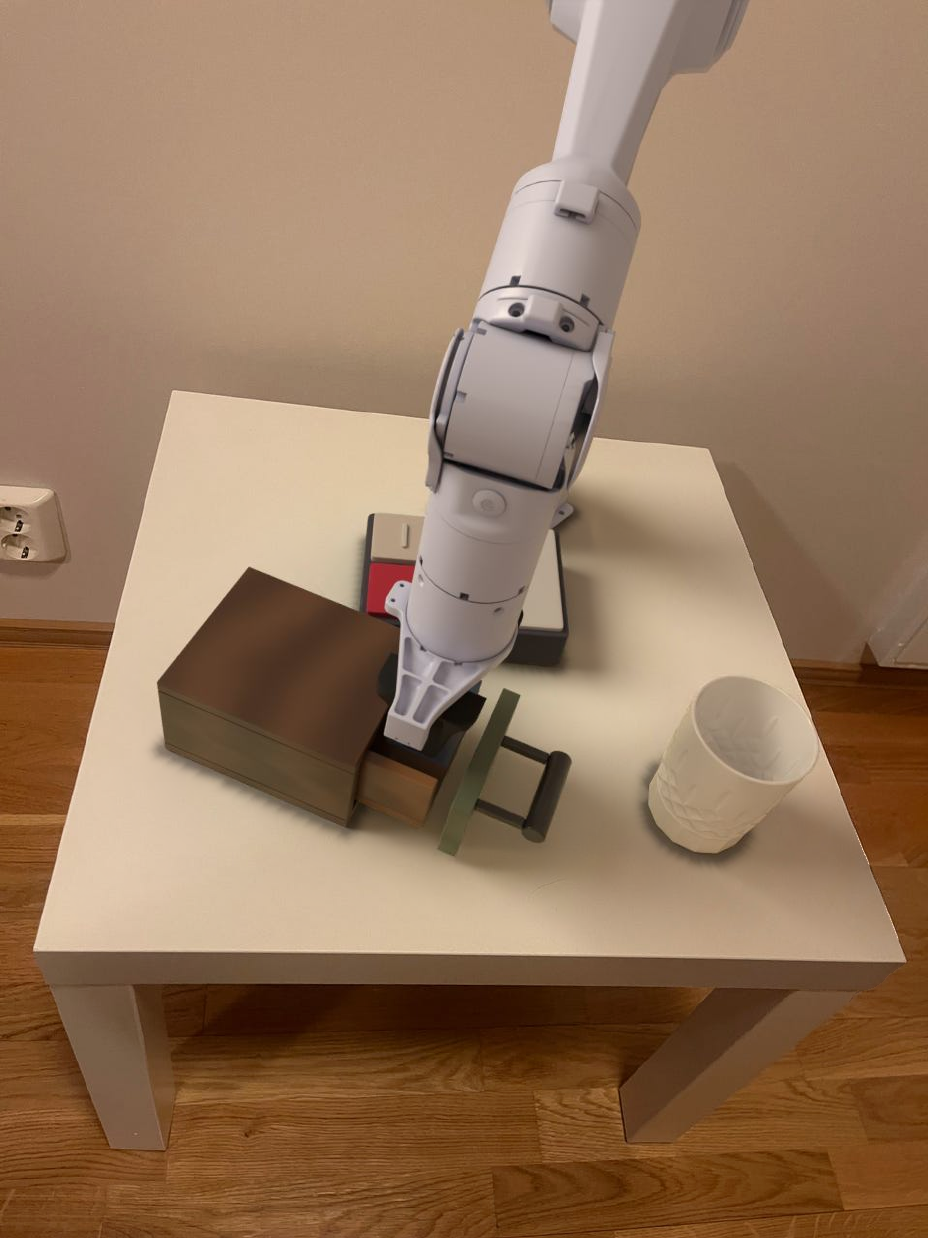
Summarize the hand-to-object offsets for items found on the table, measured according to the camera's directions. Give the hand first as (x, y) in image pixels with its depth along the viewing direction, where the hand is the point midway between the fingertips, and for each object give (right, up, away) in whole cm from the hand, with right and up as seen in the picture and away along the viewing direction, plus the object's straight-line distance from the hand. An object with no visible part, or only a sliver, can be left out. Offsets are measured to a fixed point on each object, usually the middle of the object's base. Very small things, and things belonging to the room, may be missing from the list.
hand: (434, 717), depth 54 cm
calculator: (+1, +7, +16) cm, 17 cm away
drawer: (0, -4, +4) cm, 6 cm away
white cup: (+17, -7, +7) cm, 20 cm away
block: (0, -1, +1) cm, 1 cm away
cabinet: (-10, -1, +6) cm, 11 cm away
